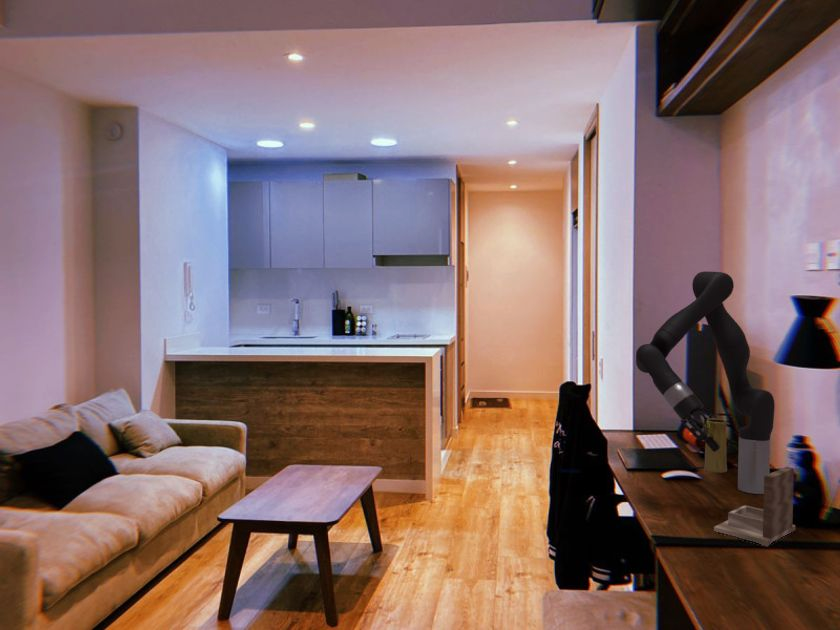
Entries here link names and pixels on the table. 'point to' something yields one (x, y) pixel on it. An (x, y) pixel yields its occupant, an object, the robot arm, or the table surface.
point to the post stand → (765, 512)
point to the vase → (718, 433)
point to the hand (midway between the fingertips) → (722, 448)
